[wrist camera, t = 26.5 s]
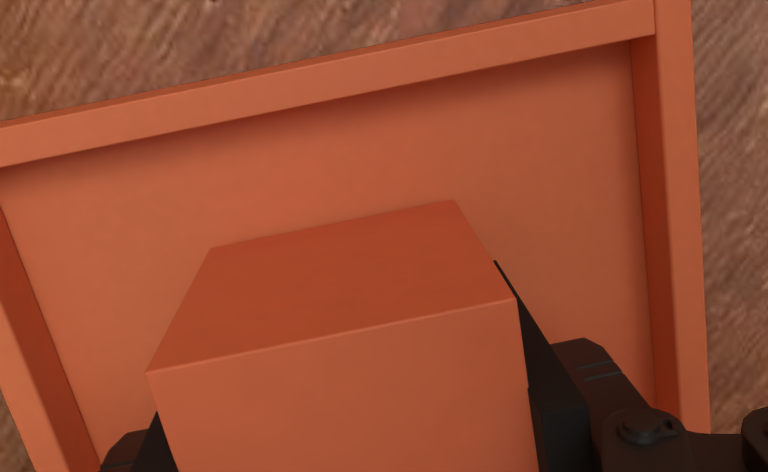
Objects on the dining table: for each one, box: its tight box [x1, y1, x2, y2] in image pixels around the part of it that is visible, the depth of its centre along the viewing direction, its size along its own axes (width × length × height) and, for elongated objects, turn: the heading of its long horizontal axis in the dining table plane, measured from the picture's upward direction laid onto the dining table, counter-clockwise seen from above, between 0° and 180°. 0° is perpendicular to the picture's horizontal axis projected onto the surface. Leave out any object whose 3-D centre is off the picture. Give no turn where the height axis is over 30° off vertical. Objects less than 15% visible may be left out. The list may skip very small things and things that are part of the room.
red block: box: [145, 200, 539, 472], centre depth 15 cm, size 6×6×6 cm
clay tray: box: [0, 0, 711, 472], centre depth 17 cm, size 17×14×2 cm
